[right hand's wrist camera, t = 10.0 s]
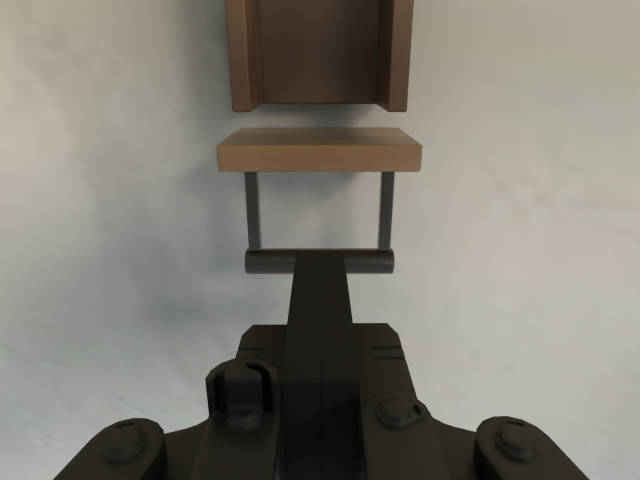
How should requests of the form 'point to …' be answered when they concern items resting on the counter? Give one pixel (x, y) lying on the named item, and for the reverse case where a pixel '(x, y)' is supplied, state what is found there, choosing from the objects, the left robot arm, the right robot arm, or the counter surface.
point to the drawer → (319, 88)
